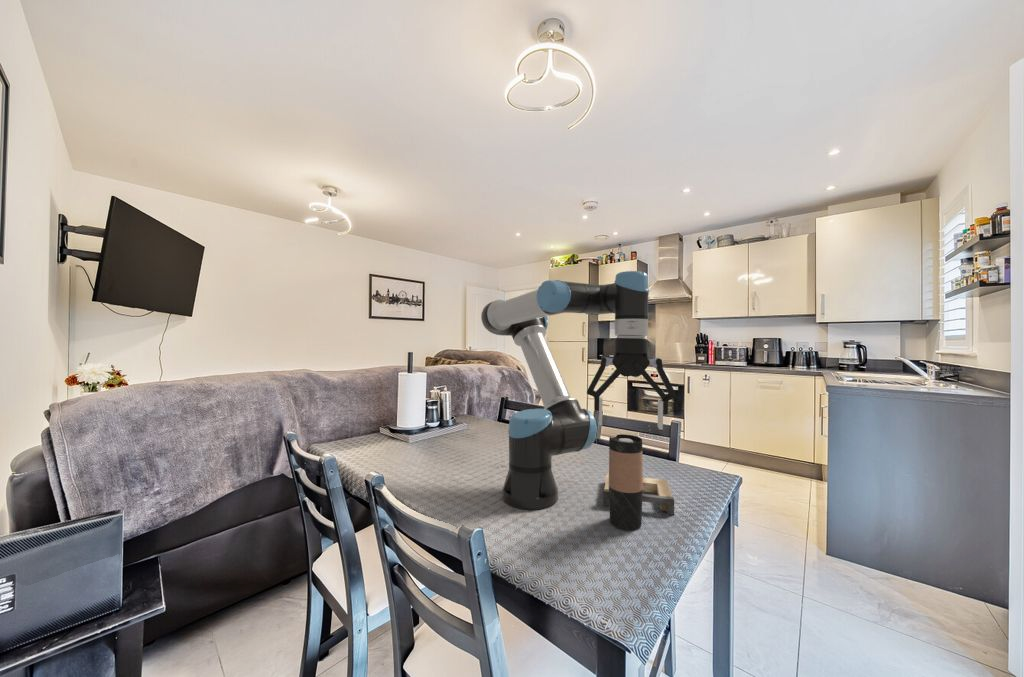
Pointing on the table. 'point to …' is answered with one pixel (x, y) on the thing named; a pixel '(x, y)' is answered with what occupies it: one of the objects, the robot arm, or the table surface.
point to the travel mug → (625, 481)
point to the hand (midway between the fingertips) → (629, 426)
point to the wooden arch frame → (650, 486)
